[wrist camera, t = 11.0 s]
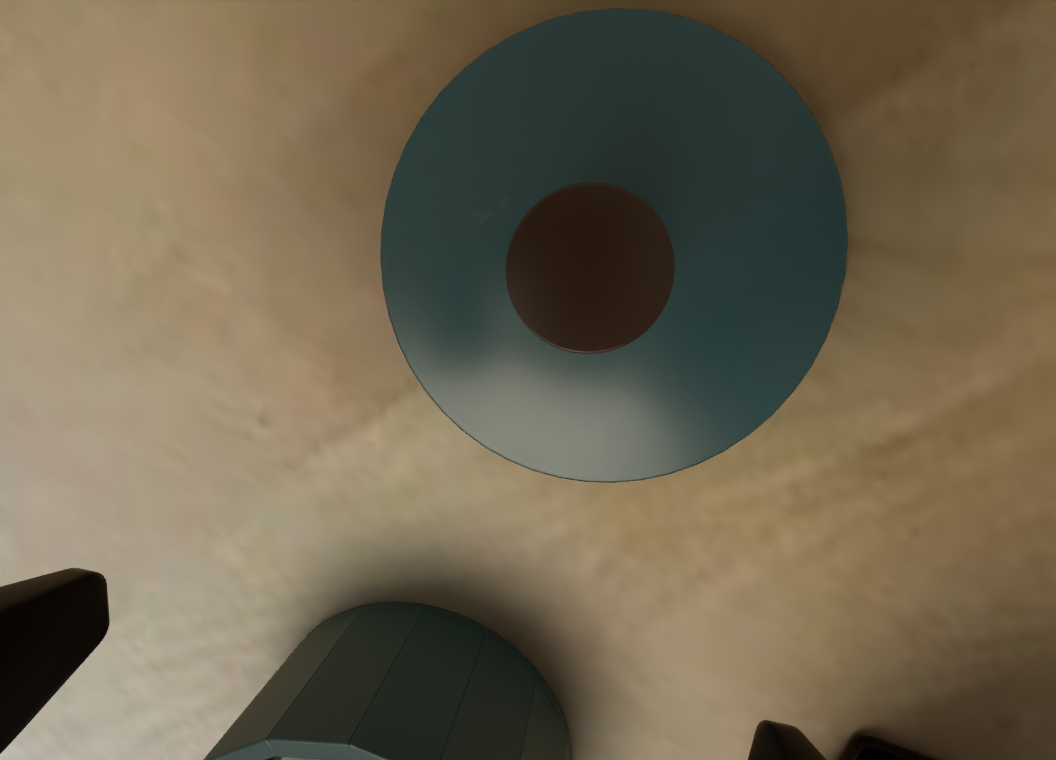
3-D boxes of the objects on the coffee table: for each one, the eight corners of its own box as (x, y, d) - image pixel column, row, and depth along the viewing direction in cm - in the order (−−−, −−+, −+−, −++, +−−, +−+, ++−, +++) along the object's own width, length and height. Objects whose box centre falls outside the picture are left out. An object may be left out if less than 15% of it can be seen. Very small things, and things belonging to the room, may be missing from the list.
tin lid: (915, 97, 14) (1132, -21, 8) (728, 523, 17) (785, 662, 11) (452, -26, 15) (345, -209, 9) (358, 395, 18) (234, 460, 13)
